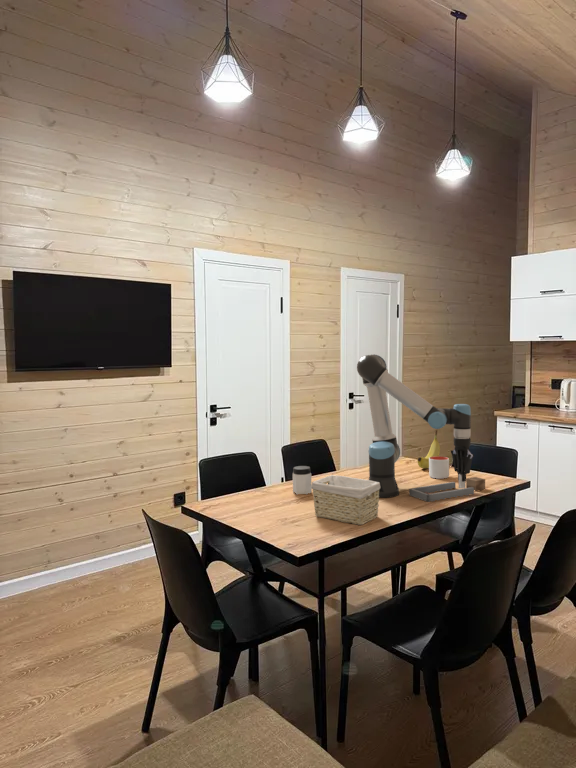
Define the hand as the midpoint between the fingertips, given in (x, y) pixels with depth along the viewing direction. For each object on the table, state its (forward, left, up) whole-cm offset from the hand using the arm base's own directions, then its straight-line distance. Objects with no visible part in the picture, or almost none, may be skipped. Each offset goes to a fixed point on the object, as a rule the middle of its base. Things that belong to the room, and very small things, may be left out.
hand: (462, 487), depth 264 cm
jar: (-65, +36, -2) cm, 75 cm away
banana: (+21, +50, -2) cm, 54 cm away
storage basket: (-67, -8, -2) cm, 68 cm away
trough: (-12, 0, -2) cm, 13 cm away
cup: (+10, +28, -2) cm, 29 cm away
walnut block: (+8, 0, -2) cm, 8 cm away
